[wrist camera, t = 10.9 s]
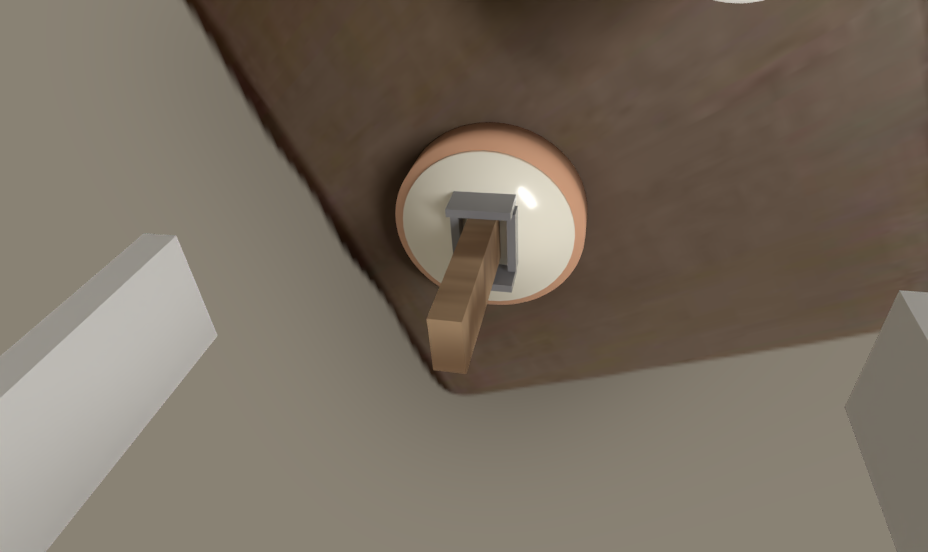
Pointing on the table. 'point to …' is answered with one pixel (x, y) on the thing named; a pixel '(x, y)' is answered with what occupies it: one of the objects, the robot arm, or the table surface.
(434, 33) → the table surface
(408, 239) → the peach disc
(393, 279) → the table surface
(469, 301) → the tall wooden post
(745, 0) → the mug
